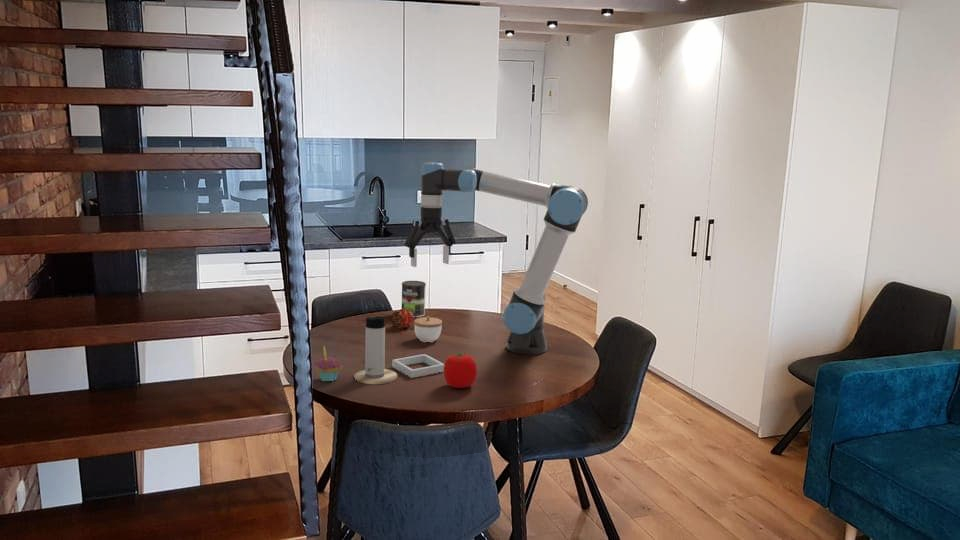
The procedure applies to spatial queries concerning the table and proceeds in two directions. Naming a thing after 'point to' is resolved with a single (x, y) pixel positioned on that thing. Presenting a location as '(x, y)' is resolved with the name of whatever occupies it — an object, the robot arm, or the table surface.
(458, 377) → the tomato
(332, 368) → the cupcake
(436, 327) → the lidded jar
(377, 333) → the travel mug
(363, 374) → the mat
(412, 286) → the coffee can
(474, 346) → the table surface
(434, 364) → the grey square frame
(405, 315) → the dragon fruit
